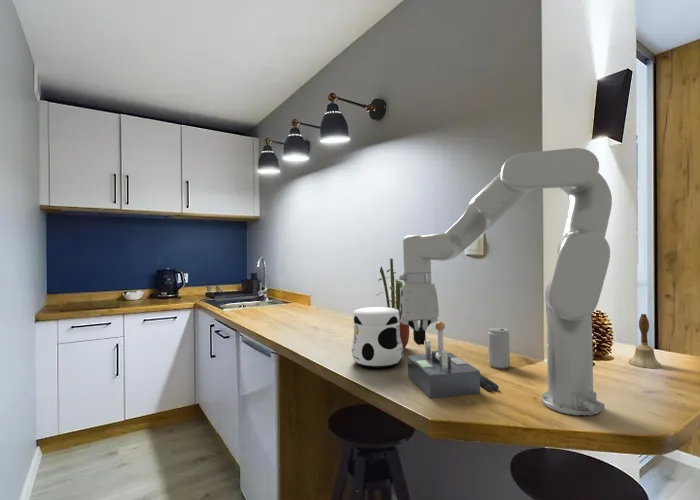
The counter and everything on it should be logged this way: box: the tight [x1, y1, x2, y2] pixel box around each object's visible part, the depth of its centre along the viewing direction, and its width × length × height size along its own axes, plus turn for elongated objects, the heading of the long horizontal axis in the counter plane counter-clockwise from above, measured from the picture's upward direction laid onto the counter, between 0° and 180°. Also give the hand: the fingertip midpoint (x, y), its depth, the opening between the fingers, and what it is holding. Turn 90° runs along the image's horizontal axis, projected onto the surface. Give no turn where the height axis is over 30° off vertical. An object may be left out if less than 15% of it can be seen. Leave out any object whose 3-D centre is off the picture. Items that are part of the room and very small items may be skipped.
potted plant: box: [372, 257, 410, 350], centre depth 149 cm, size 17×16×35 cm
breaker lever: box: [434, 321, 446, 361], centre depth 109 cm, size 4×3×11 cm, turn 10°
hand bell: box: [628, 313, 662, 370], centre depth 121 cm, size 8×8×16 cm
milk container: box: [351, 306, 404, 369], centre depth 130 cm, size 17×17×18 cm
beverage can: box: [487, 327, 511, 370], centre depth 123 cm, size 6×6×12 cm
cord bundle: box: [480, 373, 499, 392], centre depth 111 cm, size 18×3×2 cm, turn 10°
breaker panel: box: [407, 339, 481, 399], centre depth 109 cm, size 18×14×11 cm
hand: (419, 343), depth 108 cm, fingers closed
